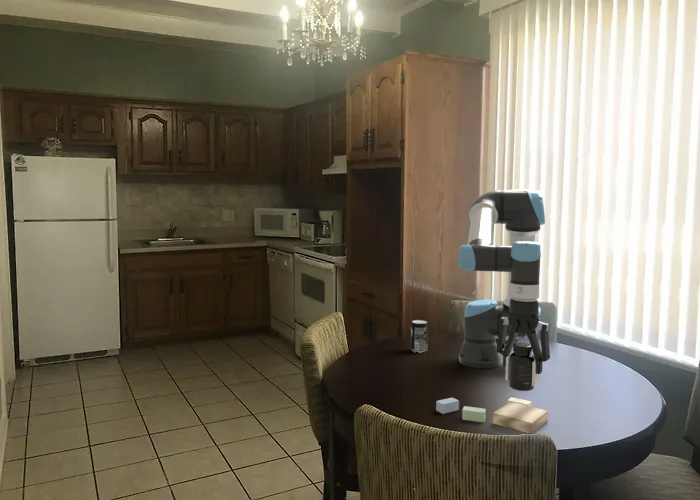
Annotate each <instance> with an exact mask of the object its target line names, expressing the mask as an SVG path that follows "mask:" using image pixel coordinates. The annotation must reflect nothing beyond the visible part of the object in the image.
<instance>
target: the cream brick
mask: <svg viewBox="0 0 700 500" xmlns="http://www.w3.org/2000/svg"><path fill="white" fill-rule="evenodd" d="M509 402H514V403H518V404H522V405H526V406H530V407H533V406H532V404H533V403H532V402H533V401H531V400H526V399H521V398H516V397H512V396H511V397H509V398H508V399H507V404H508V403H509Z"/></svg>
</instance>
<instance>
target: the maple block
mask: <svg viewBox="0 0 700 500" xmlns="http://www.w3.org/2000/svg"><path fill="white" fill-rule="evenodd" d="M492 415H493V416H492V417H493V418H492V424H493V425H498V426H501V427H505V428H508V429H513V430H516V431H518V432H523V433H527V434H530V433H533V434H534V433H535V432H536V431H538V430H539V429H540V428H542V427H543V426H544V425H545V424H547V423H548V422H549V410H545V409H542V408H537V407H534V406H531V407H530V406H526V405H522V404H518V403H514V402H509V403H508V402H507V403H506V404H505V405H503V406H501V407H500V408H498V409H497V410H495V411H494V412H493V413H492Z"/></svg>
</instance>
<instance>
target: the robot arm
mask: <svg viewBox="0 0 700 500" xmlns="http://www.w3.org/2000/svg"><path fill="white" fill-rule="evenodd" d="M543 197H544V196H543V193H542V192H541V191H540V190H532V189H497V190H491V191H488V192H485V193H484V194H482V195H480V196H479V197H478V198H476V200H474V202H472V204H471V206H470V207H469V211H468V218H469V221H470V225H469V232H468V238H467V239H468V240H467V244H461V245H459V248H458V261H457V262H458V269H460V270H462V271H470V272H502V273H508V275H507V277H508V280H507V297H505V298H504V299H503V301H502V303H503V304H498V301H497V300H495V299H479V300H473V301H469V302H467V304H466V305H465V307H464V315H463V317H464V333H463V344H462V347H461V349H460V352H459V354H458V363H460V365H463V366H465V367H468V368H474V369H494V368H497V367H499V366H501V359H502V366H503V368H505V376H504V377H505V381H506V382H507V381H508V382H509V357H510V355H511V354H512V350H513V345H514V343H516V340H517V339H528V340H529V344H530V345H531V348H532V355H534V358H535V361H534V362H533V363H532V386H534V388H535V387H536V386H538V385H539V379H540V378H539V376H540V374H542V373H543V362H547V361H548V360H550V359H551V353H550V338H549V330H550V327H551V325H550V323H548V322H547V323H545V322H542V321H541V316H542V309H541V307H540V305H539V304H540V301H539V300H538V299H539V298H540V276H541V275H540V273H541V272H540V270H541V256H542V252H541V244H540V242H537V241H536V234H537V233H538V232H539V231H540V230H541V226H543V225H545V224H546V218H545V217H546V216H545V208H544V207H545V206H544V199H543ZM495 224H500V225H501V224H502V225H505V230H506V232H508V234H509V242H508V243H509V245H494V234H495V233H494V232H495ZM539 331H540V332H539ZM538 332H539V333H540V335H539V336H540V343H539V341H538V337H537V335H538ZM496 336H498V340H496ZM506 337H509V338H508V341H505V340H506ZM516 338H517V339H516ZM500 354H501V355H502V358H501V355H500Z"/></svg>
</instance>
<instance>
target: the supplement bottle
mask: <svg viewBox="0 0 700 500" xmlns="http://www.w3.org/2000/svg"><path fill="white" fill-rule="evenodd" d="M512 350H513V352H511V354H509V355H510V357H509V380H508V386H509V387H510V388H511V389H512V390H515V391H519V392H529V391H533V390H534V388H535V387H534V386H532V363H533V362H534V361H535V358H534V354H533V351H532V348H531V345H530V343H528V342H515V343H514V345H513V348H512Z"/></svg>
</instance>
